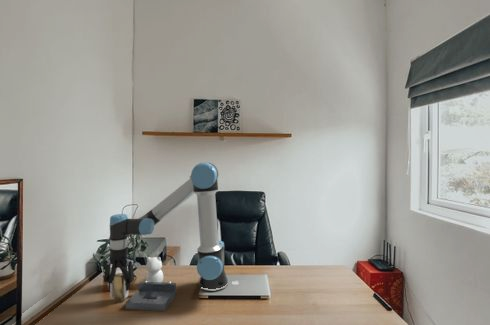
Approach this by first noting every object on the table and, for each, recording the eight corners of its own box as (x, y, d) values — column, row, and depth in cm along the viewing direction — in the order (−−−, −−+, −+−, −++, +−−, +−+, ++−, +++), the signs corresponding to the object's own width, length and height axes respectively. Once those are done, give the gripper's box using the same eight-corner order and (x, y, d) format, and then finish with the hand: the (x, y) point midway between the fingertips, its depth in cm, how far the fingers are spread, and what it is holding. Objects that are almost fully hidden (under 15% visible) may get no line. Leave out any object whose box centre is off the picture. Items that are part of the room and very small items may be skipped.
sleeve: (126, 298, 129) (126, 273, 129) (121, 303, 124) (121, 277, 124) (117, 297, 129) (117, 272, 129) (112, 302, 125) (111, 277, 125)
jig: (176, 295, 131) (175, 281, 131) (164, 310, 117) (164, 295, 117) (140, 293, 133) (140, 280, 133) (125, 309, 119) (125, 293, 119)
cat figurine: (143, 289, 138) (142, 260, 138) (149, 278, 151) (149, 251, 150) (161, 288, 139) (160, 259, 139) (166, 277, 151) (165, 251, 151)
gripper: (142, 245, 130) (142, 293, 129) (104, 244, 131) (105, 291, 131) (134, 250, 122) (134, 301, 122) (94, 249, 124) (95, 299, 124)
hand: (119, 296), depth 127 cm, fingers open, 6 cm apart
